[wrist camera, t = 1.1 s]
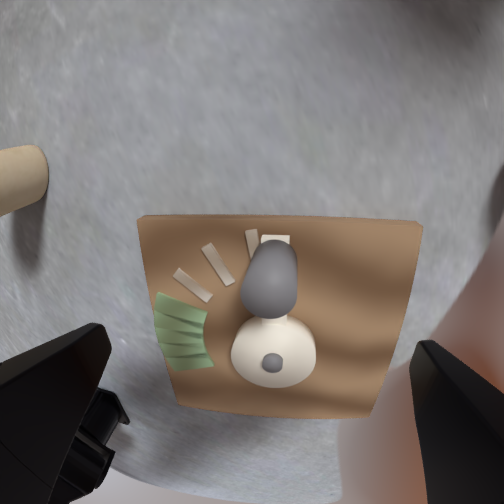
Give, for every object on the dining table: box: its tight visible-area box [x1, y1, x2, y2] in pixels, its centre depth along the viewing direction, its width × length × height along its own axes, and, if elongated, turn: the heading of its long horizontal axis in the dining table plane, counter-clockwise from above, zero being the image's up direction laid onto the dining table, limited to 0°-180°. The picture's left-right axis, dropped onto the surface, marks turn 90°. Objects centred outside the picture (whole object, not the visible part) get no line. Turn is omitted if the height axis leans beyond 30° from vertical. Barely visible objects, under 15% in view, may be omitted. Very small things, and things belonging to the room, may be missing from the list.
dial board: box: [137, 215, 423, 419], centre depth 21 cm, size 19×19×2 cm
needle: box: [231, 235, 316, 388], centre depth 17 cm, size 12×6×5 cm, turn 1°
